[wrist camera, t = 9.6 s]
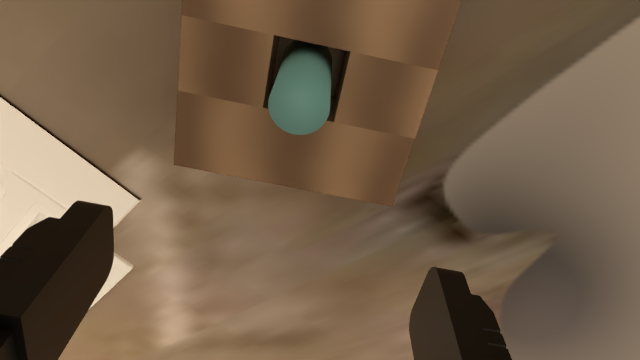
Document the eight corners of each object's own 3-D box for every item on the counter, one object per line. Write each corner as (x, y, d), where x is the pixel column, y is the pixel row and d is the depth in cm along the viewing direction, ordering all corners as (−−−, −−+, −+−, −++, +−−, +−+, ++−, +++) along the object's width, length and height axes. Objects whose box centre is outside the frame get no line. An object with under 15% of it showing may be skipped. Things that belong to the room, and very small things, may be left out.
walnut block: (191, 137, 32) (173, 164, 29) (207, -91, 26) (187, -91, 22) (386, 175, 33) (392, 206, 30) (453, -34, 27) (470, -25, 23)
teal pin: (281, 78, 30) (264, 128, 23) (288, 31, 29) (273, 70, 22) (326, 87, 30) (323, 140, 23) (336, 41, 29) (336, 83, 22)
